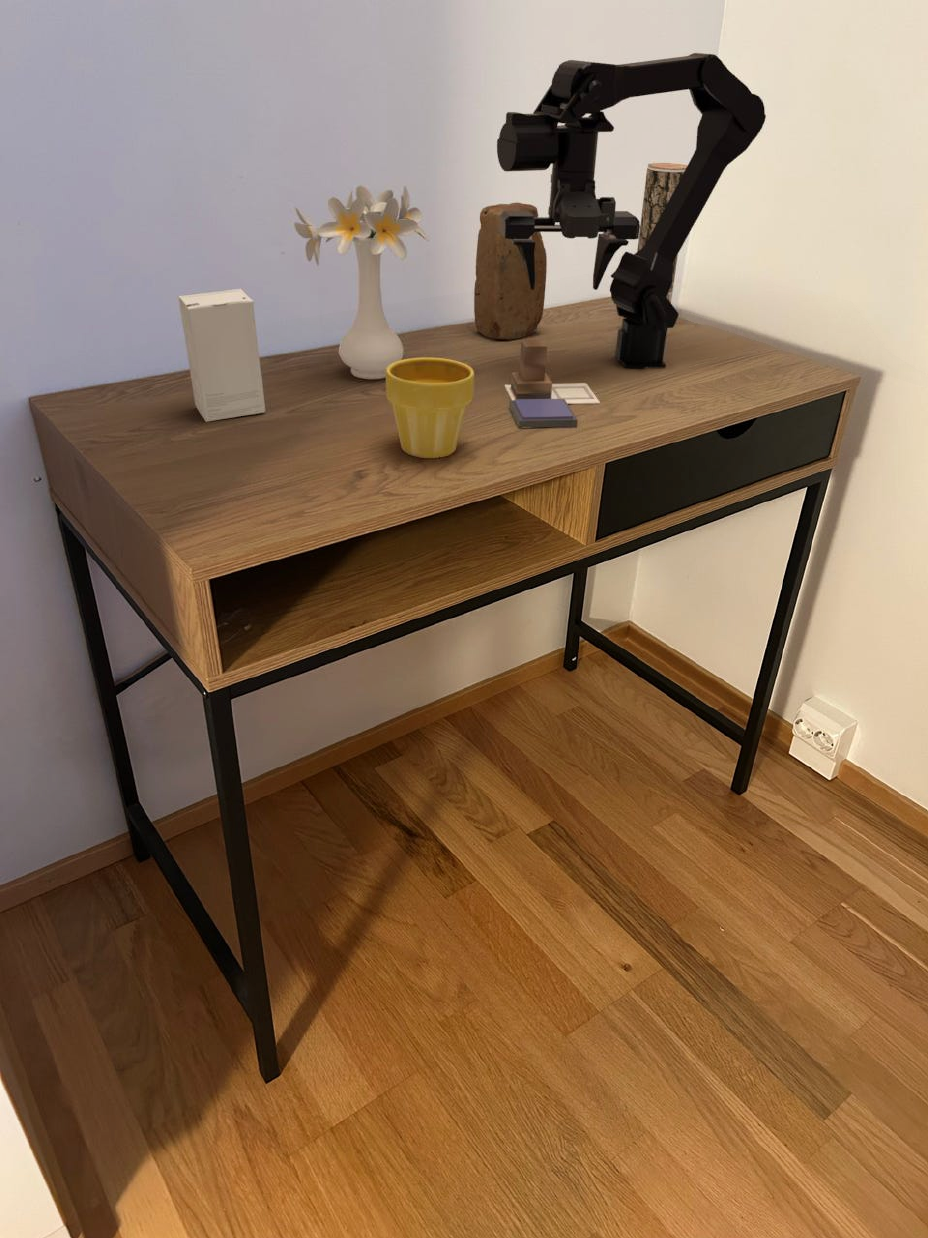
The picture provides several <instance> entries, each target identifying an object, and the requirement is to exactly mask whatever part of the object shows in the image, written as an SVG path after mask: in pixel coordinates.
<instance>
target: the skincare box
mask: <svg viewBox="0 0 928 1238" xmlns="http://www.w3.org/2000/svg"><path fill="white" fill-rule="evenodd" d="M178 303H179V309H180V316H181V325H182V329H183V330H182V331H183V334H184V341H185V348H186V353H187V360H188V365H189V373H190V378H191V384H192V385H191V386H192V390H193V391H192V392H193V397H194V403H195V408H196V409H197V410H198V412H199V414H200V415H201V416H202V419H204V421H205V422H206V423H208V422H212V421H218V420H219V421H220V420H225V419H231V418H237V417H241V416H242V417H243V416H250V415H256V414H264V413H266V405H265V397H264V395H265V394H264V388H263V387H264V386H263V378H262V371H261V359H260V352H259V342H258V335H257V325H256V316H255V307H254V304H255V302H254V300H253V299H252V298H250V297H249V296H248V295H247V293H246V292H244V290H243V289H241V288H236V289H227V290H221V291H213V292H205V293H197V294H188V295H179V296H178Z"/></svg>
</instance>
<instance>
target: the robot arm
mask: <svg viewBox="0 0 928 1238" xmlns="http://www.w3.org/2000/svg"><path fill="white" fill-rule="evenodd" d="M686 90H689V93H690V96H691V98H692V102H693V104H694V106H695V107H696V109H697V110H698V111H699V113H700V114H701V117H700V119H699V123H698V125H697V129H696V141H695V143H696V144H695V150H694V153H693V154H692V157H691V159H690V161H689V162H688V164H687V168H686V170H685V171H684V173H683V175H682V177H681V179H680V181H679V183H678V184H677V186H676V188H675V190H674V192H673V194H672V196H671V197H670V199H669V201H668V203H667V205H666V207H665V209H664V210H663V212H662V214H661V216H660V218H659V220H658V222H657V223H656V225H655V227H654V229H653V231H652V233H651V235H650V236H649V238H648V240H647V242H646V244H645V245H644V247H643V248H642V249H640V250H639V251H638V252H635V253H632V252H630V251H629V252H628V251H624V253H623V254H622V256H621V259H620V260H619V263H618V266H617V267H616V269H615V271H614V272H613V273H612V274H610V277H611V278H612V280H611V284H610V285H609V292H610V297H611V300H612V302H613V304H615V307H616V312H617V316H619V317H622V321H621V323H622V324H621V328H619V329H618V330H617V337H616V345H615V353H614V356H615V358H617V359H618V361H619V363H621V365H622V366H623V367H625V368H627V369H629V368H631V369H634V368H636V369H637V368H638V369H639V368H666V367H667V363H666V361H664V356H665V346H666V341H667V333H668V329H671V328H674V326H675V325H676V322H677V320H678V318H679V312H678V311H677V309H676V308H675V307H674V306H673V304H672V302H671V303H670V301H669V300H668V299H667V295H668V293H669V290H670V288H671V285H672V276H673V263H674V261H675V258H676V257H677V255H678V256H679V253H680V251H681V249H682V248H683V246H684V243H685V242H686V240H687V238H688V237H689V234H690V233H691V231H692V229H693V227H694V226H695V225H696V222H697V220H698V219H699V216H700V214H701V212H703V209H704V208H705V206H706V204H707V202H708V201H709V198H710V196H711V195H712V192H713V191H714V189H715V187H716V186H717V184H718V182H719V181H720V178H721V177H722V175H723V173H724V171H725V170H726V168H727V166H728V165H729V164H731V163H732V162H733V161H734V160H736V159H737V158H738V157H739V156H740V155H742V154H743V153H745V152H746V151H747V150H748V148H749V147H750V146H751V144H752V143H753V142H754V140H755V139H756V137H757V136H758V135H759V134H760V132H761V130H762V128H763V126H764V125H765V121H766V119H767V118H766V116H767V114H765V113H766V112H765V109H766V108H765V104H764V101H763V99H762V98H761V97H760V96H759V95H757V94H755V93H752V91H751V90H750V88H749V87H748V86H747V85H746V84H745V83H744V82H743V81H742V80H740V79H739V78H738V77H737V76H736V75H735V74H734V73H732V72H731V71H730V70H729V69H728V68H727V67H726V65H725V64H724V62H723V61H722V60H721V59H720V58H719V57H718V56H717V55H716V54H712V53H704V52H703V53H702V52H694V53H691V54H688V55H686V56H685V55H684V56H678V57H669V58H663V59H662V58H661V59H653V60H652V59H651V60H644V61H636V62H630V63H622V64H613V63H603V62H594V61H584V60H578V59H577V60H575V59H570V60H565V61H563V62H561V63H560V64H558V67H557V68H556V70H555V71H554V74H553V77H552V80H551V85H550V86H549V87H548V89H547V91H546V93H545V94H544V95H543V97H542V99H541V100H540V102H539V103H538V105H537V106H536V108H535V110H533V113H521V112H517V111H516V112H515V111H507V112H506V114H505V123H503V125H502V127H501V129H500V132H499V136H498V138H497V140H496V153H497V159H498V163H499V166H500V168H501V169H502V170H503V171H504V172H532V171H533V172H534V171H535V172H536V171H546V170H548V169H549V168H550V166H552V167H551V174H550V194H549V206H548V209H547V211H548V212H547V215H548V217H547V216H546V217H544V216H542V217H541V216H538V217H534V216H533V215H532V214H531V213H530V212H529V211H518V210H504V211H503V212H502V214H501V215H500V218H499V232H500V233H501V234H502V235H503V237H504V238H506V239H509V240H510V241H511V242H512V243H513V244H514V245H517V246H518V249H519V251H520V254H521V256H522V259H523V263H524V267H525V271H526V274H527V278H528V282H529V286H530V289H531V290H534V286H535V259H534V251H535V244H536V242H535V241H534V240H533V239H532V235H533V234H534V232H540V233H561V235H562V236H563V237H564V238H567V239H575V238H587V239H591V240H592V239H596V238H597V244H596V251H595V257H594V258H595V259H594V269H593V275H592V276H593V277H592V289H593V290H594V291H597V290H598V288H599V286H600V284H601V281H602V280H603V277H604V275H605V273H606V271H607V269H608V266H609V264H610V262H611V260H612V258H613V257H614V256H615V253H617V251H618V250H619V249H620V248H621V247H622V246H625V247H626V246H628V245H629V242H630V241H628V240H639V232H640V224H641V222H640V220H639V218H638V217H637V216H635V215H634V214H632V213H631V212H629V210H626V211H625V210H623V211H622V210H616V203H617V201H616V199H615V196H614V197H613V196H601V197H599V198H597V196H596V180H595V173H596V162H597V151H598V139H599V133H611V132H612V133H613V131H614V130H615V127H614V125H613V124H612V123H611V121H609V119H608V118H607V117H606V115H605V112H604V110H607V109H609V108H612V107H614V106H616V105H618V104H619V103H620V102H622V101H624V100H627V99H630V98H635V97H636V98H637V97H642V96H643V97H644V96H649V95H657V94H664V93H672V92H677V91H678V92H679V91H680V92H681V91H686ZM587 114H589V116H586V115H587ZM559 124H562V125H559ZM551 164H552V165H551ZM556 223H558V224H556ZM677 258H678V257H677Z"/></svg>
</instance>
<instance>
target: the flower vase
mask: <svg viewBox="0 0 928 1238" xmlns="http://www.w3.org/2000/svg"><path fill="white" fill-rule="evenodd" d="M355 195H356V199H354V200H353V190H350V193H349V197H348V199H347V204H346V206H345V205H344V203H343V202H342V201H341V200H340V199H339V198H338V197H335V196H331V197H330V198H329V199H328V202H327V206H328V211H329V213H330V215H332V218H333V219H334V220H335V221H332V220H331V221H327V222H325V223H324V224H321V225H320V226H319V227H317V226H315V225H314V224H313V222H311V221H310V219H308V218H307V217H306V216H305V215H304V214H303V213H302V212H301V211H300V210H299V208H298V207H294V208H295V212H296V214H297V216H298V219H299V220H300V221H301V222H298V221H295V222H294V224H293V226H294V229H295V231H296V232H297V234H298V235H299V236H300V237H301V238H304V239H308V240H307V241H306V243H305V256H306V259H307V261H308V262H312V260H313V257H314V259H315V262H316V265H317V266H319V265H320V250H321V242H322V239H323V238H324V239H326V241H325V243H328V242H330V241H331V240H333V239H334V238H336V237H337V238H338V239H337V242H336V249H337V252H338V254H339V255H340V256H344V255H346V254H347V253H348V252H349V250H350V248H351V246H352V243H353V244H354V247H355V248H354V249H355V253H356V254H355V255H356V258H357V265H358V266H357V267H358V305H357V306H358V307H357V312H356V316H355V319H354V322H353V324H352V326H351V327H350V329H349V330H348V331H347V332H346V333H345V334H344V335H343V336H342V338H341V341H340V343H339V348H338V355H339V357H340V358H341V361H342V362H343V363H344V364H345V365H346V366H348V367H349V368H350V373H351V375H352V376H354V377H356V378H358V379H362V380H363V379H364V380H381V379H386V369H387V367H388V366H389V365H390V364H392V363H394V362H397V361H400V360H403V357H404V356H403V355H404V352H405V350H404V345H403V343H402V341H401V339H400V337H399V336H398V335H397V333H396V332H395V331H394V330H393V329H392V328H391V327H390V325H389V323H388V321H387V318H386V315H385V312H384V309H383V303H382V300H383V299H382V290H381V286H382V285H381V259H382V258H381V256H382V253H383V251H384V250H385V249H386V247H387V246H388V247H389V249H390V251H391V252H392V254H393V255H394V256H395V257H396V258H397V259H399V260H405V259H406V258H407V253H408V252H407V248H406V245H405V243H404V240H402V238H401V237H406V236H410V235H412V234H414V233H416V234H418V235H419V236H420V237H421V238H423V239H424V240H426V242H429V238H428V235H427V233H426V232H425V231H424V229H423V228H422V227H421V226H420V225H419V224H418V223H420V222H422V220H423V214H422V212H421V210H420V209H419V208H418V207H414V206H413V207H410V205H411V200H410V195H409V191H408V189H407V186H405V185H404V186H403V191H402V194H401V195H400V206H399V201H398V200H397V198H395V197H394V191H393V190H391V189H385V190H383V191H382V192H380V193H379V194H378V195H377V197H376V198H375V200H374V198H373V196H372V193H371V192H370V190H369V189H368V188H367V187H366V186H365V185H362V184H360V185H358V186H356V188H355Z"/></svg>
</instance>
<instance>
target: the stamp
mask: <svg viewBox="0 0 928 1238" xmlns="http://www.w3.org/2000/svg"><path fill="white" fill-rule="evenodd" d="M547 351H548V346H547V344H546V343H545V341H544V340H543V339H521V341H520V352H519V353H520V355H519V356H520V357H519V371H518V372H513V371H512V372H511V379H510V380H511V381H510V385H511V389H512V391H513V393H514V395H515V397H516V399H551V392H552V384H553V382H552V381H551V378H550V377H549V375H548V374H547V372H546V366H547V365H546V364H547V363H546V362H547Z"/></svg>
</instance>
